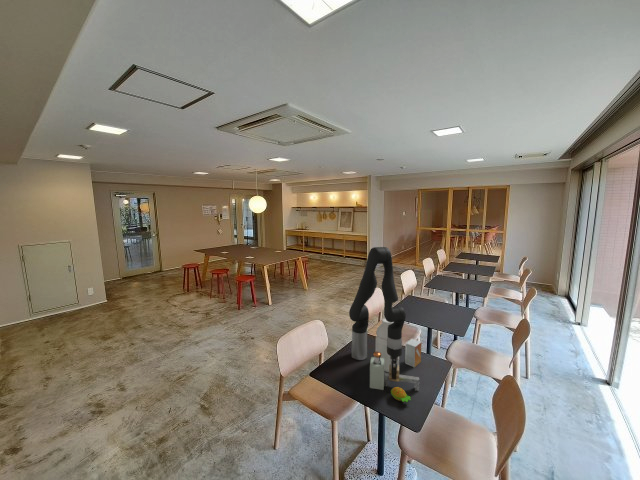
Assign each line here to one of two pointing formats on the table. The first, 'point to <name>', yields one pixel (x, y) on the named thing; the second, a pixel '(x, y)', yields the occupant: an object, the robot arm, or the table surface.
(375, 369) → the cabinet
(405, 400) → the toy pineapple
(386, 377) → the rail
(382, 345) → the bottle
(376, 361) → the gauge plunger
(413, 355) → the small box
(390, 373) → the block
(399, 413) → the table surface
